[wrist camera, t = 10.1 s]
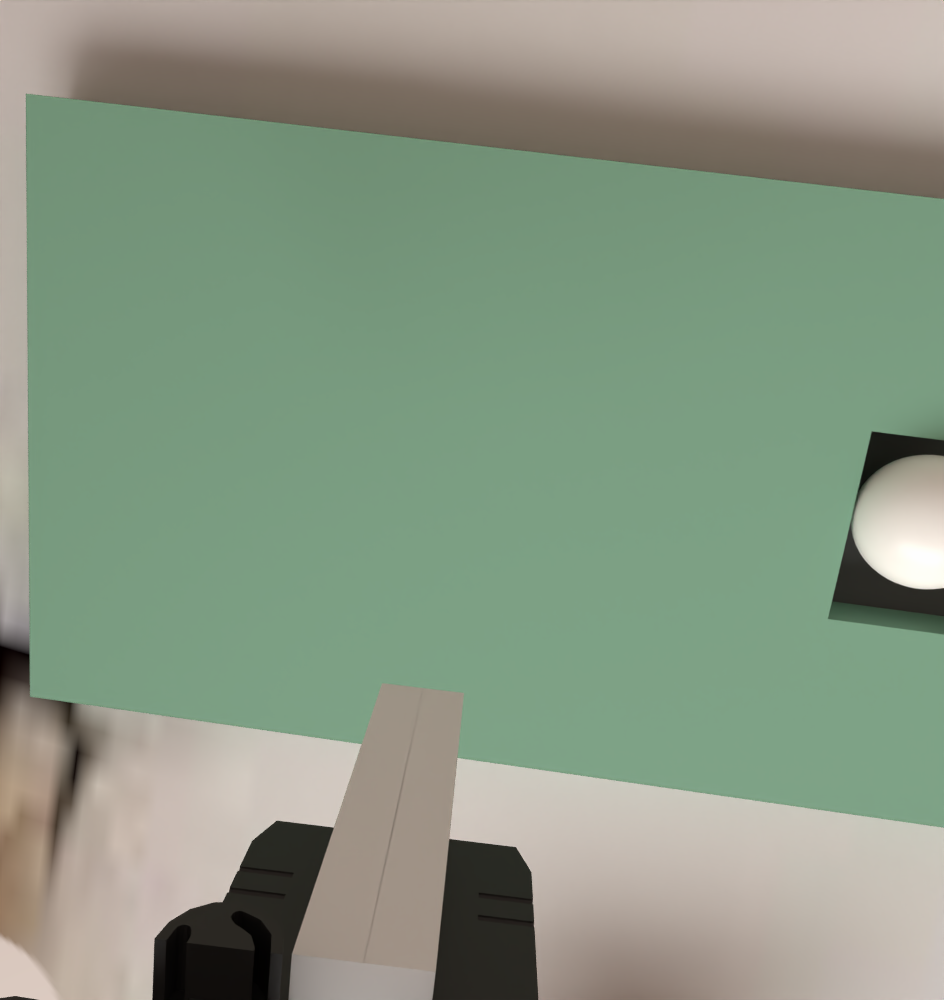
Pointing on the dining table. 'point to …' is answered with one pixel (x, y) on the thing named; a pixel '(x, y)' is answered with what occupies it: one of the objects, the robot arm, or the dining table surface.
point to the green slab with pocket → (482, 450)
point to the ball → (903, 521)
